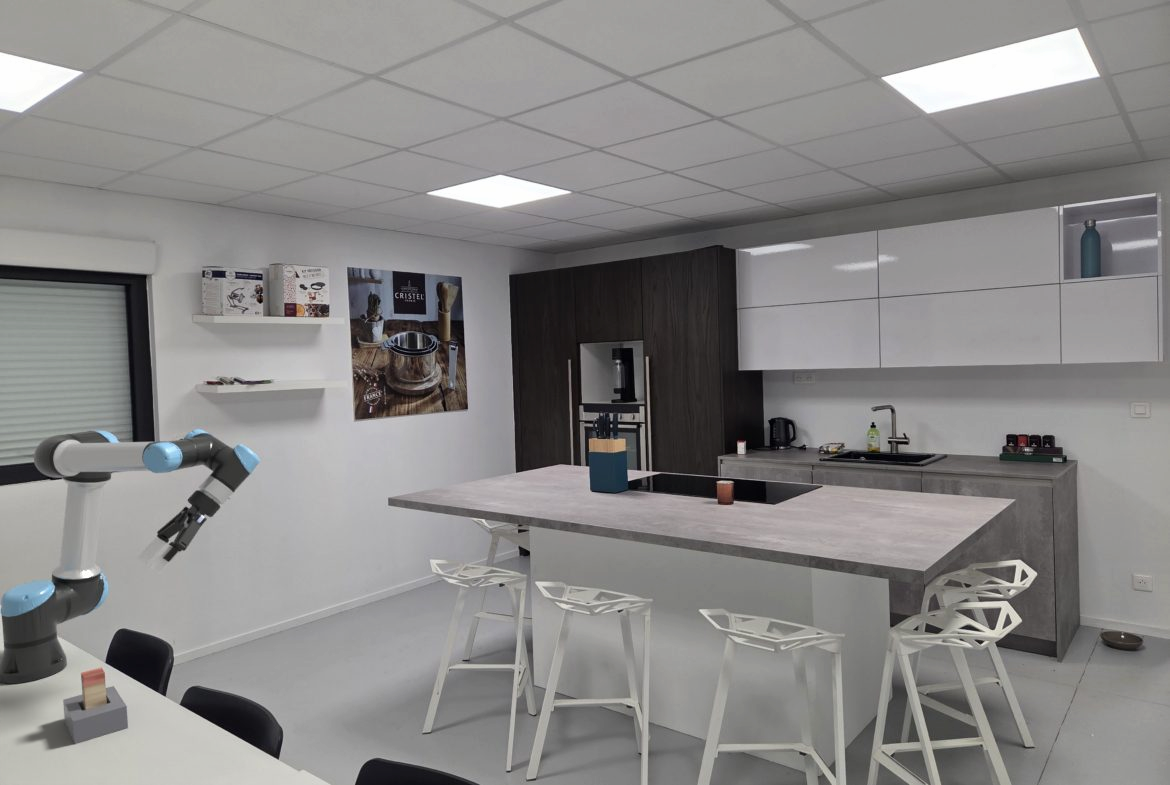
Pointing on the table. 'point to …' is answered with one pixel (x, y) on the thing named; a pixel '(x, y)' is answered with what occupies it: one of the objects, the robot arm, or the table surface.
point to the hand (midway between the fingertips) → (147, 565)
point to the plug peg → (93, 688)
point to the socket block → (95, 717)
